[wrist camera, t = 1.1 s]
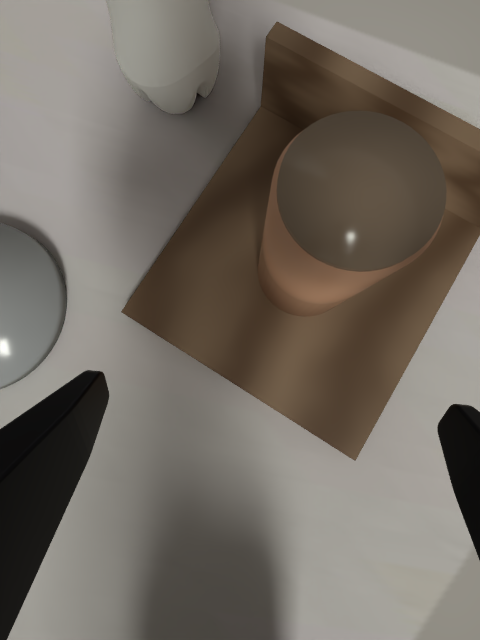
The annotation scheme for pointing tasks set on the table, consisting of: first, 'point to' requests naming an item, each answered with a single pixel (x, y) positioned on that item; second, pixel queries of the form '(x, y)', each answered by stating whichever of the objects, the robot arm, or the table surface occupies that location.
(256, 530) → the table surface
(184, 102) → the water bottle
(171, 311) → the wooden bookend
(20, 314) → the ceramic saucer
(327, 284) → the terracotta pot
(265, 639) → the table surface
